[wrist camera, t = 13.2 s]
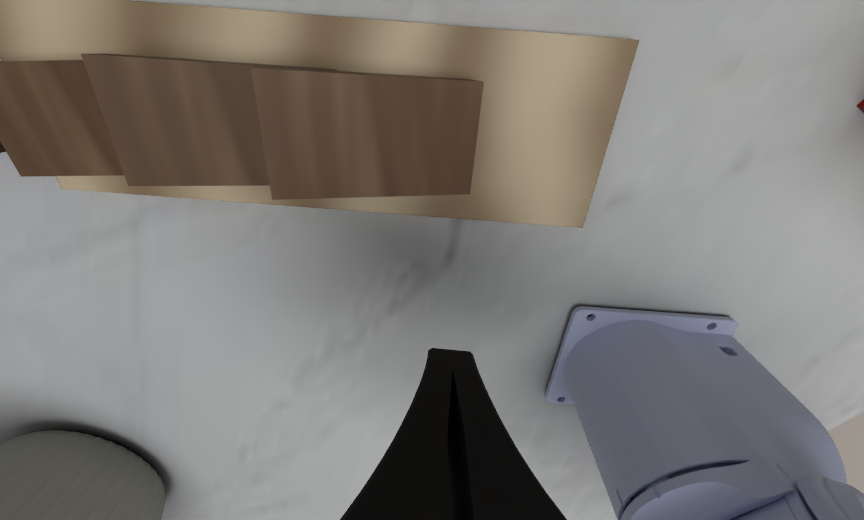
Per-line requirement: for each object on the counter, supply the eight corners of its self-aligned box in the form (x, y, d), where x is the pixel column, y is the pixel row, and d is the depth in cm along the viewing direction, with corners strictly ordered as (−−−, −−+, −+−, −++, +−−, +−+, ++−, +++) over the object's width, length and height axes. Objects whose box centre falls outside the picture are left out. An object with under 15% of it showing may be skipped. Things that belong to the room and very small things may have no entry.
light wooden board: (632, 40, 14) (639, 39, 14) (578, 223, 18) (582, 227, 18) (-14, -10, 14) (-32, -12, 14) (72, 184, 18) (61, 188, 18)
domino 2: (337, 71, 13) (80, 54, 11) (343, 185, 15) (128, 186, 14) (337, 69, 15) (107, 53, 13) (342, 174, 17) (147, 173, 15)
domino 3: (483, 81, 13) (250, 68, 11) (470, 194, 16) (272, 199, 13) (469, 79, 15) (257, 66, 13) (458, 182, 17) (276, 186, 15)
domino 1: (157, 58, 13) (-47, 62, 14) (197, 174, 15) (21, 176, 16) (184, 58, 15) (-1, 62, 15) (218, 165, 17) (55, 166, 17)
